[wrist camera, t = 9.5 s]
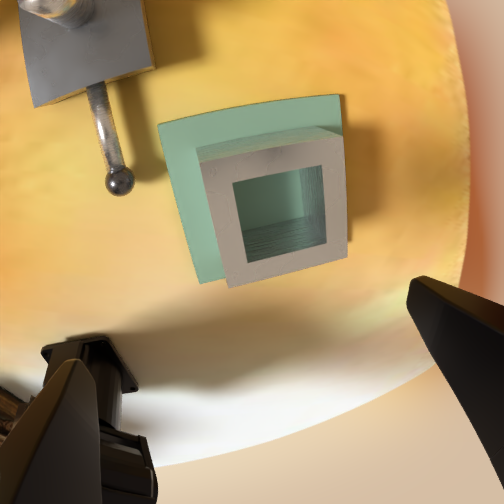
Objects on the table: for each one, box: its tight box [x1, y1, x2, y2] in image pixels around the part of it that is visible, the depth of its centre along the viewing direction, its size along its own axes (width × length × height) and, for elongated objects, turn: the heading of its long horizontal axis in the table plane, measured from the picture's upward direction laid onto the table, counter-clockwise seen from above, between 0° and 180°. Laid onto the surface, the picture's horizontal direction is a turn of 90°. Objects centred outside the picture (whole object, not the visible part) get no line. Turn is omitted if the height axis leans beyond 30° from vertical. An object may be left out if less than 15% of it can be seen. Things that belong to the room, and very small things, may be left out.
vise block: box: [17, 0, 156, 196], centre depth 10 cm, size 14×6×7 cm, turn 9°
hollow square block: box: [196, 126, 347, 288], centre depth 17 cm, size 7×7×4 cm
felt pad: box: [157, 94, 343, 284], centre depth 18 cm, size 10×10×1 cm
